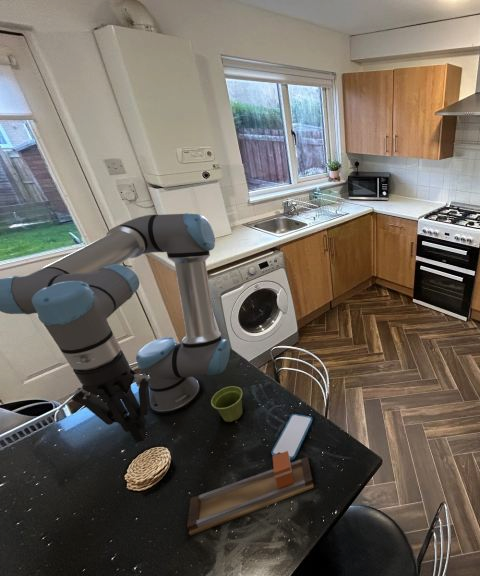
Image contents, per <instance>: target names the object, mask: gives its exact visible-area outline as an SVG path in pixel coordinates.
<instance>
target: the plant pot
mask: <svg viewBox="0 0 480 576" xmlns="http://www.w3.org/2000/svg"><path fill="white" fill-rule="evenodd" d="M243 394H244V393H243V390H242V388H240V387H239V386H234V385H229V386H226V387H223V388H222V389H220V390H218V391H216V392H215V393H214V395H213V396H212V397H211V400H210V404H211V407H212V408H214V409H216V410H217V412H218V413H219V415H220V416H221V418H222V419H223V421H224V422H227V423H232V422H233V421H237V420H238V419H240V418H241V416H242V415H243V403H242V401H243V400H242V397H243Z"/></svg>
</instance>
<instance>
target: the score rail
mask: <svg viewBox="0 0 480 576" xmlns="http://www.w3.org/2000/svg"><path fill="white" fill-rule="evenodd" d="M290 463H291V468H292V473H293V480H294V484H292V485H290V486H287V487H284V488H282V489H278V486H277V482H276V478H275V476H274V468H272V469H270V470H267V471H263V472H260V473H258V474H256V475H252V476H250V477H247V478H244V479H241V480H239V481H235V482H232V483H230V484H227V485H224V486H221V487H219V488H216V489H213V490H210V491H207V492H204V493H202V494H199V495H196V496H193V497H190V500H189V508H188V516H187V523H186V528H187V530H188V535H189V536H190V537H191V536H193V535H195V534H199V533H200V532H203V531H206V530H209V529H211V528H213V527H217V526H219V525H221V524H224V523H226V522H229V521H232V520H234V519H237V518H239V517H242V516H245V515H247V514H250V513H253V512H255V511H258V510H260V509H262V508H265V507H268V506H270V505H273V504H275V503H278V502H280V501H283V500H285V499H288V498H291V497H293V496H296V495H298V494H301V493H304V492H306V491H309V490H311V489H314V488H315V487H314V481H313V476H312V471H311V466H310V460H309V457H308V456H306V457H304V458H301V459H297V460H295V461H291V462H290Z"/></svg>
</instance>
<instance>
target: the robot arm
mask: <svg viewBox="0 0 480 576" xmlns="http://www.w3.org/2000/svg"><path fill="white" fill-rule="evenodd" d="M215 246H216V237H215V234H214V230H213V228H212V225H211V224H210V222H209V220H208V219H207V218H206V217H205V216H204V215H202V214H199V213H188V212H186V213H169V214H147V215H142V216H138V217H136V218H131V219H130V220H127V221H125V222H123V223H120V224H117V225H116V226H113V227H111V228H110V229H109V230H108V231H107V233H106V235H105V236H103V237H100V238H99V239H97V240H95V241H93V242H91V243H90V244H87V245H85V246H83V247H81V248H80V249H78V250H75V251H74V252H72V253H69V254H68V255H65V256H64V257H62V258H60V259H57V260H56V261H54V262H52V263H50V264H48V265H46V266H44V267H41V268H40V269H38V270H36V271H34V272H31V273H30V274H27V275H13V276H5V277H3V278H2V277H1V278H0V312H1V313H4V314H7V315H8V314H9V315H33V314H37V316H38V320H39V321H40V322H41V324H42V325H43V326H44V327H45V328H46V330H47V332H48V333H49V334H50V336H51V338H52V339H53V341H54V342H55V344H56V345H57V347H58V348H59V350H60V352H61V354H62V355H63V357H64V358H65V360H66V362H67V363H68V364H69V366H70V367H71V368H72V371H73V373H74V374H75V376H76V377H77V379H78V381H79V383H80V384H81V385H82V386H81V387H78V388H77V389H76V390H75V392H74V394H73V396H72V397H71V400H72V401H73V402H75V403H78V404H81V405H83V406H84V407H85V408H87V410H89V411H90V412H91V413H93V414H94V416H96V417H98V418H99V419H100V420H101V421H102V422H103V423H105V424H106V425H108V426H109V425H113V424H114V423H117V424H119V425H120V426H121V428H122V431H124V432H125V433H130V435H131V436H132V438H133V440H134V441H135V443H137V444H138V443H140V442H144V441H145V440H146V436H147V432H148V430H147V428H146V423H147V419H146V417H145V416H147V415H148V413H149V410H150V408H151V409H152V411H153V412H154V413H156V414H161V415H163V414H172V413H176V412H179V411H181V410H183V409H184V408H186V407H188V406H189V405H190V404H192V403H193V402H194V401H195V400H196V399H197V398H198V396H199V395H200V391H201V385H200V384H199V382H198V380H197V379H196V378H195V377H207V376H208V377H209V376H212V375H219V374H221V373H224V371H225V370H226V368H227V366H228V363H229V359H230V355H231V353H230V352H231V346H230V342H229V340H228V339H225V338H223V337H222V336H223V335H222V332H221V331H218V330H217V329H216V325H215V324H216V323H215V316H214V310H213V303H212V296H211V290H210V282H209V275H208V269H207V262H206V261H207V260H208V259H209V257H210V256H211V253H210V251H213V250H214V249H215ZM151 253H152V254H153V253H166V255H167V256H166V257H167V259H168V260H169V261H171V262H172V263H173V264H174V268H175V269H174V270H175V275H176V280H177V287H178V293H179V299H180V305H181V311H182V317H183V322H184V328H185V336H184V337H183V338H182V339H181V342H177V340H176V339H175V338H173V337H171V336H165V337H160V338H158V339H154V340H152V341H150V342H148V343H147V344H145V345H144V346H142V348H141V349H139V350H138V352H137V353H136V356H135V361H136V364H137V368H138V369H139V371H140V372H141V374H138V373H136V371H135V370H134V369H132V368H131V366H130V364H129V362H128V359H127V357H126V355H125V353H124V351H123V350H122V349H121V346H120V344H119V342H118V340H117V338H116V336H115V334H114V332H113V331H112V329H111V328H112V327H111V326H110V324H109V322H108V318H109V317H111V316H112V315H113V314H114V313H115V312H116V311H117V310H118V309H119V308H121V306H123V305H124V304H125V303H126V302H128V301H129V300H130V299H131V298H132V297H133V295H134V294H135V293H136V292H137V291H138V290H139V287H140V279H139V277H138V275H137V274H136V272H135V271H133V269H131V268H130V267H128V266H125V265H122V264H123V263H124V262H126V261H128V260H129V259H135V258H138V257H140V256H142V255H144V254H151ZM133 382H135V385H136V387H138V399H139V401H138V399H137V397H136V396H135V393H134V391H133V390H132V384H133Z"/></svg>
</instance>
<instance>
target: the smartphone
mask: <svg viewBox="0 0 480 576" xmlns="http://www.w3.org/2000/svg"><path fill="white" fill-rule="evenodd" d="M312 423H313V417H312V416H308V415H304V414H297V413H293V414H291V415H290V417H289V419H288V420H287V422H286V424H285V426H284V428H283V430H282V432H281V433H280V435H279V437H278V439H277V441H276V442H275V444H274V446H273V448H272V450H271V456H274V455H277V454H280V453H283V452H286V451H288V454H289V457H290V461H293V460H295V459H296V457H297V455H298V453H299V451H300V449H301V446H302V445H303V442H304V441H305V438H306V436H307V434H308V431H309V429H310V428H311V426H312Z"/></svg>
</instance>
